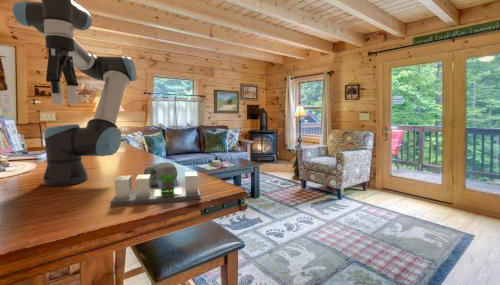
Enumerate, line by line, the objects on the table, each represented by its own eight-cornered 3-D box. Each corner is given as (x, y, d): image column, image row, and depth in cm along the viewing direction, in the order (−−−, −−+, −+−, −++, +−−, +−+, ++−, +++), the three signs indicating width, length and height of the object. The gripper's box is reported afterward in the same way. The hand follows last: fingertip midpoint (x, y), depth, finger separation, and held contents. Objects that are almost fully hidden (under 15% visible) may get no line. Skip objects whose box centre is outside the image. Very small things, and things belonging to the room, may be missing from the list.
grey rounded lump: (152, 181, 98) (151, 156, 102) (139, 188, 103) (138, 164, 107) (183, 182, 108) (181, 160, 112) (170, 189, 113) (168, 167, 117)
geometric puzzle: (181, 188, 87) (177, 167, 91) (160, 191, 84) (157, 169, 88) (178, 196, 93) (174, 175, 96) (157, 199, 90) (155, 177, 93)
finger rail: (118, 195, 92) (117, 174, 91) (197, 189, 99) (197, 170, 98) (110, 206, 81) (109, 182, 80) (200, 199, 88) (199, 177, 87)
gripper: (58, 27, 74) (65, 104, 77) (84, 46, 97) (88, 104, 100) (26, 24, 72) (34, 104, 74) (60, 44, 95) (65, 104, 98)
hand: (65, 104), depth 87 cm, fingers open, 13 cm apart
